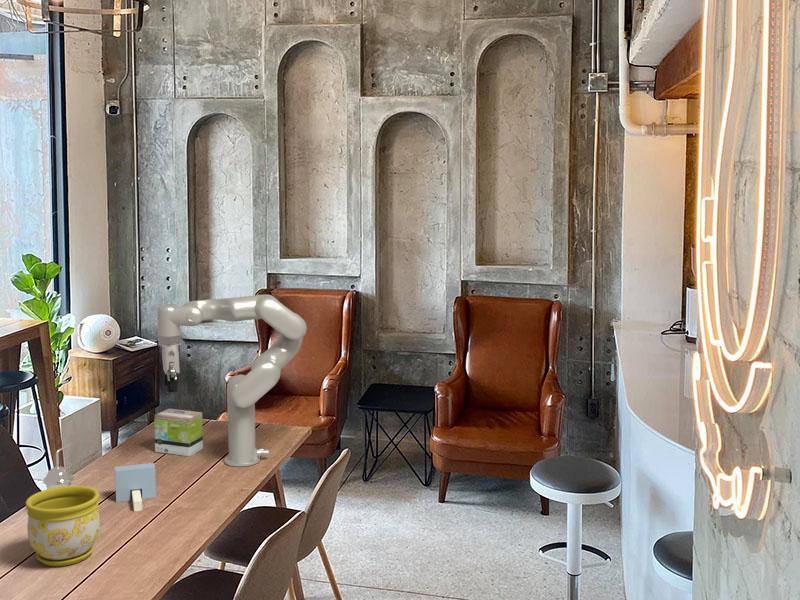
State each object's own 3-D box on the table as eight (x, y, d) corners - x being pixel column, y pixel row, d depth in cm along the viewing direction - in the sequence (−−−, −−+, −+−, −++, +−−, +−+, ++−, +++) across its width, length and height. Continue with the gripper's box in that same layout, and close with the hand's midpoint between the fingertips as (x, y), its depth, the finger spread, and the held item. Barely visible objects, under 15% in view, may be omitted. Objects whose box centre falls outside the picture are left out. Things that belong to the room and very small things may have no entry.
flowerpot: (79, 536, 232) (76, 480, 230) (114, 554, 221) (112, 495, 218) (15, 557, 218) (12, 498, 216) (50, 578, 207) (47, 515, 205)
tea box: (154, 453, 306) (152, 414, 304) (169, 445, 316) (168, 407, 314) (189, 457, 302) (188, 417, 300) (204, 449, 311) (203, 411, 309)
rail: (137, 484, 273) (137, 475, 273) (142, 510, 251) (142, 501, 250) (129, 485, 272) (129, 476, 272) (134, 511, 250) (133, 502, 250)
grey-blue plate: (155, 492, 266) (154, 462, 265) (156, 497, 262) (155, 467, 260) (115, 497, 262) (114, 466, 260) (116, 502, 257) (115, 471, 256)
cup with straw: (40, 510, 250) (37, 446, 248) (71, 503, 256) (68, 441, 254) (49, 518, 244) (46, 453, 241) (80, 511, 250) (77, 447, 247)
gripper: (183, 344, 278) (184, 393, 280) (178, 335, 294) (179, 382, 296) (160, 345, 275) (161, 395, 278) (156, 336, 291) (157, 384, 294)
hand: (170, 388), depth 287 cm, fingers open, 9 cm apart
